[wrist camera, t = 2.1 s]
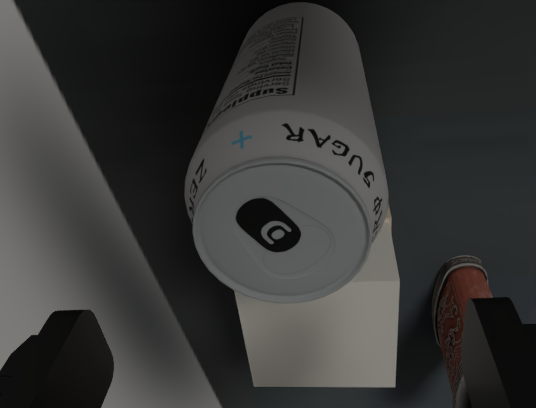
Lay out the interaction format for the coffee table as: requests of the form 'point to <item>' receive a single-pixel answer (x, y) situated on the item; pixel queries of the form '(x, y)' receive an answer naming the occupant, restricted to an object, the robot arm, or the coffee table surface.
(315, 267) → the energy drink can
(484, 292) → the lighter
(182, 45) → the coffee table surface
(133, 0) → the coffee table surface
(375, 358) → the cream block
